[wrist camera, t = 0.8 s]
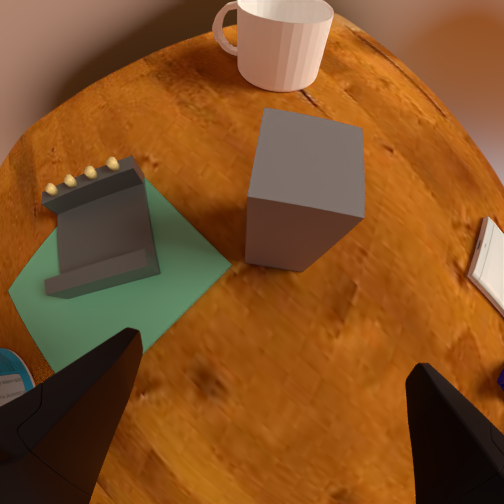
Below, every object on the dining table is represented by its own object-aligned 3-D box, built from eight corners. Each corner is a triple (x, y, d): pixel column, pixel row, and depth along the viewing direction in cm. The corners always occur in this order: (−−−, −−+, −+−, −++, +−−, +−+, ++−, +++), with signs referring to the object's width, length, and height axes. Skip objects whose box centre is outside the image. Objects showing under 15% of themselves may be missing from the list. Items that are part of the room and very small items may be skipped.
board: (87, 409, 18) (84, 411, 18) (11, 291, 20) (7, 290, 20) (231, 265, 22) (231, 264, 21) (127, 161, 24) (125, 157, 23)
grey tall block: (302, 272, 22) (364, 218, 10) (244, 262, 22) (247, 196, 10) (309, 212, 23) (361, 119, 11) (255, 202, 23) (266, 99, 12)
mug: (327, 65, 28) (345, 6, 19) (296, 105, 26) (313, 33, 17) (242, 35, 29) (243, -22, 20) (200, 68, 27) (192, 3, 18)
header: (160, 273, 21) (142, 262, 17) (67, 299, 20) (38, 293, 16) (144, 174, 23) (128, 148, 19) (60, 205, 22) (36, 187, 18)
